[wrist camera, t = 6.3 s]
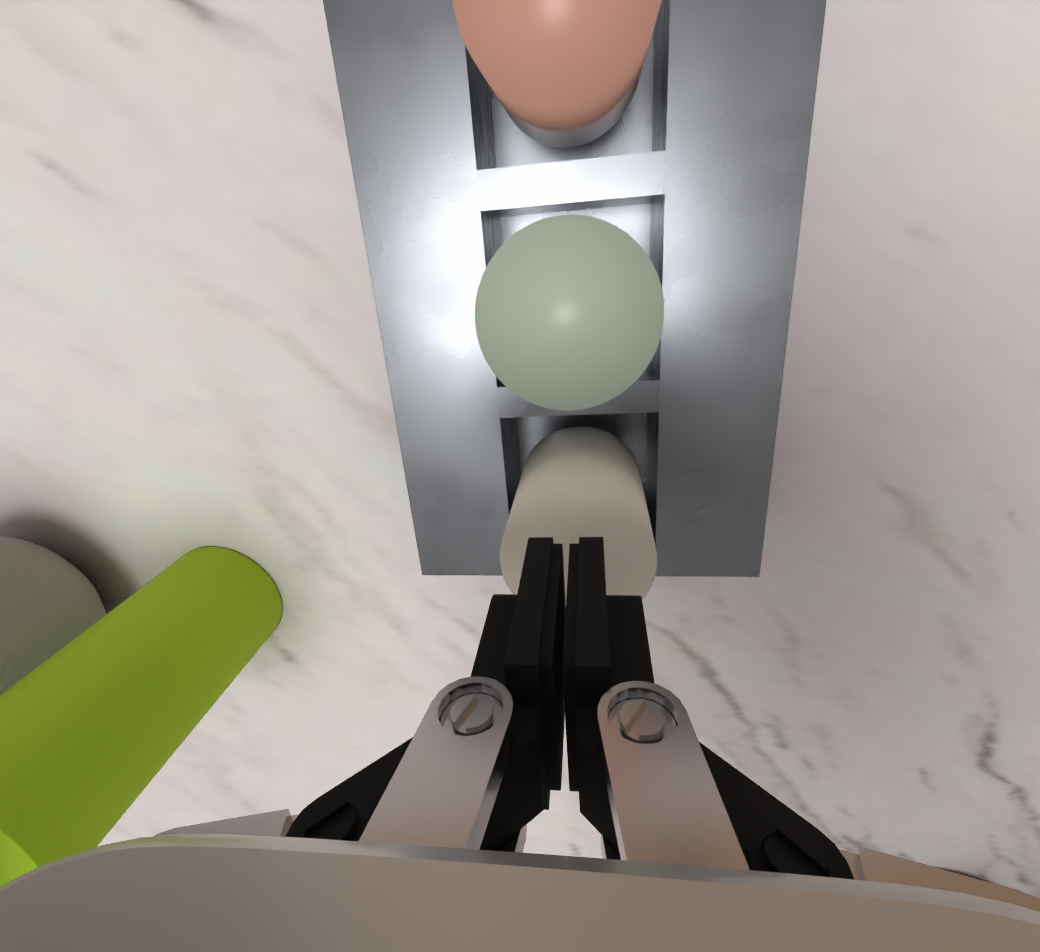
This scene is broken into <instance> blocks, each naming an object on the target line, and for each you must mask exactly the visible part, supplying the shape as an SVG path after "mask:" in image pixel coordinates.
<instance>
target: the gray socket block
mask: <svg viewBox="0 0 1040 952" xmlns="http://www.w3.org/2000/svg"><path fill="white" fill-rule="evenodd" d="M323 3H324V9H325V15H326V20H327V26H328V32H329V38H330V44H331V49H332V55H333V61H334V67H335V72H336V78H337V84H338V90H339V96H340V101H341V107H342V113H343V119H344V124H345V130H346V136H347V142H348V148H349V153H350V159H351V165H352V171H353V177H354V182H355V188H356V194H357V200H358V205H359V211H360V217H361V223H362V229H363V234H364V240H365V246H366V252H367V257H368V263H369V269H370V275H371V281H372V286H373V292H374V298H375V304H376V310H377V315H378V321H379V327H380V333H381V338H382V344H383V350H384V356H385V362H386V367H387V373H388V379H389V385H390V391H391V396H392V402H393V408H394V414H395V419H396V425H397V431H398V437H399V443H400V448H401V454H402V460H403V466H404V471H405V477H406V483H407V489H408V495H409V500H410V506H411V512H412V518H413V524H414V529H415V535H416V541H417V547H418V552H419V558H420V564H421V570H422V575H503V573H502V570H501V565H500V546H501V542H502V538H503V535H504V531H505V528H506V525H507V521H508V518H509V515H510V511H511V508H512V505H513V501H514V498H515V495H516V491H517V488H518V485H519V481H520V478H521V475H522V472H523V468H524V465H525V462H526V460H527V457H528V456H529V454H530V452H531V451H532V449H533V448H534V447H535V446H536V445H537V444H538V443H539V442H540V441H541V440H542V439H543V438H545V437H546V436H548V435H549V434H551V433H553V432H555V431H558V430H561V429H564V428H568V427H576V426H587V427H594V428H598V429H601V430H604V431H606V432H609V433H611V434H612V435H614V436H616V437H617V438H618V439H620V440H621V441H622V442H623V443H624V444H625V445H626V446H627V447H628V448H629V449H630V451H631V452H632V453H633V455H634V457H635V459H636V461H637V464H638V467H639V471H640V476H641V481H642V485H643V490H644V495H645V499H646V504H647V509H648V513H649V518H650V523H651V528H652V532H653V537H654V542H655V546H656V551H657V569H656V574H655V576H735V577H759V574H760V565H761V557H762V548H763V539H764V531H765V522H766V514H767V505H768V497H769V488H770V479H771V471H772V462H773V454H774V445H775V437H776V428H777V419H778V411H779V402H780V394H781V385H782V377H783V368H784V359H785V351H786V342H787V334H788V325H789V317H790V308H791V299H792V291H793V282H794V274H795V265H796V257H797V248H798V239H799V231H800V222H801V214H802V205H803V196H804V188H805V179H806V171H807V162H808V154H809V145H810V136H811V128H812V119H813V111H814V102H815V94H816V85H817V76H818V68H819V59H820V51H821V42H822V34H823V25H824V16H825V8H826V0H662V2H661V5H660V9H659V12H658V16H657V19H656V23H655V26H654V30H653V33H652V37H651V40H650V43H649V47H648V50H647V54H646V57H645V61H644V64H643V67H642V71H641V74H640V78H639V81H638V85H637V88H636V90H635V93H634V95H633V98H632V100H631V102H630V104H629V105H628V107H627V109H626V110H625V112H624V113H623V115H622V116H621V118H620V119H619V120H618V121H617V122H616V123H615V124H614V126H613V127H611V128H610V129H609V130H608V131H607V132H606V133H604V134H603V135H601V136H600V137H599V138H597V139H595V140H593V141H591V142H589V143H586V144H584V145H581V146H576V147H571V148H558V147H551V146H547V145H544V144H541V143H539V142H537V141H535V140H533V139H532V138H530V137H528V136H527V135H526V134H525V133H523V132H522V131H521V130H520V129H519V128H518V127H517V126H516V125H515V123H514V122H513V121H512V119H511V118H510V116H509V115H508V113H507V112H506V110H505V109H504V107H503V106H502V104H501V103H500V101H499V99H498V98H497V96H496V95H495V93H494V92H493V90H492V89H491V87H490V85H489V84H488V82H487V81H486V79H485V78H484V76H483V74H482V73H481V71H480V70H479V68H478V67H477V65H476V64H475V62H474V60H473V59H472V57H471V55H470V53H469V51H468V50H467V48H466V46H465V44H464V41H463V39H462V36H461V33H460V31H459V28H458V24H457V20H456V16H455V12H454V6H453V0H323ZM572 214H577V215H585V216H591V217H595V218H598V219H602V220H604V221H607V222H609V223H611V224H613V225H615V226H617V227H618V228H620V229H622V230H623V231H625V232H626V233H627V234H629V235H630V236H631V237H632V238H633V239H634V240H636V241H637V243H638V244H639V245H640V246H641V247H642V248H643V250H644V251H645V252H646V254H647V255H648V257H649V258H650V260H651V261H652V263H653V265H654V267H655V269H656V272H657V274H658V277H659V280H660V283H661V286H662V292H663V298H664V323H663V329H662V334H661V338H660V341H659V344H658V347H657V349H656V352H655V354H654V356H653V358H652V360H651V362H650V363H649V365H648V366H647V368H646V369H645V371H644V372H643V373H642V375H641V376H640V377H639V378H638V379H637V380H636V381H635V382H634V383H633V384H632V385H631V386H630V387H629V388H628V389H627V390H625V391H624V392H622V393H621V394H619V395H618V396H617V397H615V398H613V399H611V400H609V401H607V402H605V403H603V404H600V405H597V406H594V407H590V408H586V409H580V410H555V409H548V408H545V407H541V406H538V405H535V404H533V403H530V402H528V401H526V400H524V399H522V398H521V397H519V396H517V395H516V394H515V393H513V392H512V391H511V390H509V389H508V388H507V387H506V386H505V385H504V384H503V383H502V382H501V381H500V380H499V379H498V378H497V377H496V375H495V374H494V373H493V371H492V370H491V368H490V367H489V365H488V363H487V362H486V360H485V358H484V356H483V353H482V351H481V349H480V345H479V342H478V339H477V334H476V328H475V301H476V295H477V291H478V286H479V284H480V281H481V278H482V275H483V273H484V271H485V269H486V267H487V265H488V263H489V262H490V260H491V259H492V257H493V256H494V254H495V253H496V251H497V250H498V249H499V248H500V247H501V246H502V245H503V243H504V242H505V241H507V240H508V239H509V238H510V237H511V236H512V235H513V234H515V233H516V232H518V231H519V230H521V229H522V228H524V227H525V226H527V225H530V224H532V223H534V222H536V221H538V220H541V219H545V218H548V217H552V216H558V215H572Z"/></svg>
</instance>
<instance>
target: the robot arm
mask: <svg viewBox="0 0 1040 952" xmlns="http://www.w3.org/2000/svg"><path fill="white" fill-rule="evenodd" d="M564 717H565V720H566V737H567V755H568V772H569V788H570V791H578V792H579V800H580V812H581V813H582V814H583V815H584V817H585V818H586V819H587V820H588V821H589V822H590V823H591V824H592V825H593V826H594V827H595V828H596V829H597V830H598V831H599V832H600V833H601V849H602V855H603V859H599V858H586V857H572V856H559V855H545V854H532V853H523V849H524V845H525V841H526V832H527V825H526V824H527V823H529V822H530V821H531V820H532V819H533V818H534V817H536V816H537V815H538V814H539V813H540V812H541V811H543V810H544V809H545V810H549V800H550V790H561V778H562V758H563V737H564ZM0 952H1040V899H1038V898H1035V897H1033V896H1030V895H1028V894H1025V893H1023V892H1021V891H1018V890H1016V889H1012V888H1008V887H1005V886H1001V885H997V884H994V883H990V882H987V881H983V880H979V879H976V878H972V877H968V876H965V875H961V874H957V873H954V872H950V871H947V870H943V869H939V868H936V867H932V866H928V865H925V864H921V863H917V862H914V861H910V860H906V859H903V858H899V857H896V856H892V855H888V854H885V853H881V852H877V851H874V850H870V849H866V848H863V847H859V846H858V849H857V853H856V854H855V853H851V852H848V851H844V850H840V849H838V848H837V847H836V845H835V844H834V843H833V842H832V841H831V840H830V839H828V838H827V837H826V836H825V835H824V834H823V833H822V832H821V831H820V830H818V829H817V828H816V827H814V826H813V825H812V824H810V823H809V822H807V821H806V820H805V819H803V818H802V817H801V816H799V815H798V814H797V813H795V812H794V811H793V810H791V809H790V808H788V807H787V806H786V805H784V804H783V803H782V802H780V801H779V800H778V799H776V798H775V797H773V796H772V795H771V794H769V793H768V792H767V791H765V790H764V789H763V788H761V787H760V786H758V785H757V784H756V783H754V782H753V781H752V780H750V779H749V778H748V777H746V776H745V775H743V774H742V773H741V772H739V771H738V770H737V769H735V768H734V767H733V766H731V765H730V764H728V763H727V762H726V761H724V760H723V759H722V758H720V757H719V756H718V755H716V754H715V753H714V752H712V751H711V750H709V749H708V748H707V747H705V746H704V745H703V744H701V743H700V742H699V741H698V739H697V736H696V734H695V731H694V729H693V726H692V724H691V721H690V719H689V716H688V714H687V711H686V709H685V708H684V706H683V704H682V703H681V701H680V700H679V699H678V698H677V697H676V696H675V695H674V694H673V693H672V692H671V691H669V690H667V689H665V688H663V687H661V686H660V685H657V684H654V678H653V671H652V664H651V658H650V651H649V644H648V638H647V631H646V624H645V617H644V611H643V604H642V598H641V596H640V595H606V579H605V560H604V541H603V537H579V543H570V546H569V563H568V579H567V596H566V601H565V582H564V562H563V546H562V544H554V542H553V537H529V538H528V542H527V547H526V553H525V558H524V563H523V568H522V573H521V578H520V583H519V588H518V593H517V595H503V594H494V595H493V597H492V599H491V603H490V606H489V610H488V614H487V618H486V621H485V625H484V629H483V633H482V636H481V640H480V644H479V647H478V651H477V655H476V659H475V662H474V666H473V670H472V674H471V677H467V678H463V679H459V680H457V681H455V682H453V683H450V684H448V685H447V686H446V687H445V688H443V689H442V690H441V691H440V692H439V693H438V694H437V695H436V697H435V698H434V699H433V701H432V702H431V704H430V706H429V708H428V710H427V712H426V714H425V716H424V718H423V719H422V721H421V723H420V725H419V727H418V729H417V731H416V733H415V735H414V737H413V738H411V739H409V740H408V741H406V742H405V743H403V744H402V745H400V746H398V747H397V748H395V749H394V750H392V751H391V752H389V753H388V754H386V755H384V756H383V757H381V758H380V759H378V760H377V761H375V762H373V763H372V764H370V765H369V766H367V767H366V768H364V769H362V770H361V771H359V772H358V773H356V774H355V775H353V776H352V777H350V778H348V779H347V780H345V781H344V782H342V783H341V784H339V785H337V786H336V787H334V788H333V789H331V790H330V791H328V792H326V793H325V794H323V795H322V796H320V797H319V798H317V799H316V800H315V801H313V802H312V803H311V804H309V805H308V806H307V807H306V808H304V809H303V810H302V812H301V813H300V814H298V815H292V816H291V815H290V812H289V809H284V810H278V811H273V812H267V813H261V814H255V815H249V816H243V817H237V818H231V819H225V820H220V821H214V822H208V823H202V824H196V825H190V826H184V827H178V828H174V829H171V830H168V831H165V832H162V833H159V834H157V835H155V836H154V837H145V838H138V839H132V840H127V841H122V842H117V843H111V844H106V845H102V846H99V847H96V848H92V849H89V850H86V851H83V852H79V853H76V854H73V855H70V856H66V857H63V858H60V859H57V860H55V861H52V862H50V863H47V864H45V865H43V866H40V867H38V868H36V869H34V870H31V871H29V872H27V873H25V874H23V875H21V876H19V877H17V878H15V879H13V880H12V881H10V882H9V883H7V884H5V885H4V886H2V887H0Z"/></svg>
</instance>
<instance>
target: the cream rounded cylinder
mask: <svg viewBox="0 0 1040 952" xmlns="http://www.w3.org/2000/svg"><path fill="white" fill-rule="evenodd" d="M529 537H553V542H554V544H562V546H563V562H564V582H565V601H566V596H567V579H568V563H569V546H570V543H579V537H603V541H604V560H605V579H606V595H640V596H641V598H642V599H643V597H644V596H645V595H646V594H647V592H648V590H649V589H650V587H651V585H652V583H653V580H654V577H655V574H656V569H657V551H656V546H655V542H654V537H653V532H652V528H651V523H650V518H649V513H648V509H647V504H646V499H645V495H644V490H643V485H642V481H641V476H640V471H639V467H638V464H637V461H636V459H635V457H634V455H633V453H632V452H631V451H630V449H629V448H628V447H627V446H626V445H625V444H624V443H623V442H622V441H621V440H620V439H618V438H617V437H616V436H614V435H612V434H611V433H609V432H606V431H604V430H601V429H598V428H594V427H587V426H576V427H568V428H564V429H561V430H558V431H555V432H553V433H551V434H549V435H548V436H546V437H545V438H543V439H542V440H541V441H540V442H539V443H538V444H537V445H536V446H535V447H534V448H533V449H532V451H531V452H530V454H529V456H528V457H527V460H526V462H525V465H524V468H523V472H522V475H521V478H520V481H519V485H518V488H517V491H516V495H515V498H514V501H513V505H512V508H511V511H510V515H509V518H508V521H507V525H506V528H505V531H504V535H503V538H502V542H501V546H500V565H501V570H502V573H503V576H504V579H505V581H506V583H507V585H508V587H509V588H510V590H511V591H512V593H513V594H514V595H517V593H518V588H519V583H520V578H521V573H522V568H523V563H524V558H525V553H526V547H527V542H528V538H529Z"/></svg>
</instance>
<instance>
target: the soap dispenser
mask: <svg viewBox="0 0 1040 952" xmlns="http://www.w3.org/2000/svg"><path fill="white" fill-rule="evenodd" d="M281 615H282V601H281V597H280V594H279V591H278V589H277V587H276V585H275V584H274V582H273V580H272V579H271V578H270V576H269V575H268V574H267V573H266V572H265V571H264V570H263V569H262V568H261V567H260V566H259V565H258V564H256V563H255V562H254V561H252V560H251V559H249V558H248V557H246V556H244V555H242V554H240V553H238V552H235V551H233V550H229V549H226V548H221V547H202V548H198V549H194V550H192V551H190V552H188V553H186V554H185V555H184V556H182V557H181V558H180V559H178V560H177V561H176V562H174V563H173V564H172V565H171V566H169V567H168V568H167V569H165V570H164V571H163V572H161V573H160V574H159V575H157V576H156V577H155V578H154V579H152V580H151V581H150V582H148V583H147V584H146V585H144V586H143V587H142V588H140V589H139V590H138V591H136V592H135V593H134V594H133V595H131V596H130V597H129V598H127V599H126V600H125V601H123V602H122V603H121V604H119V605H118V606H117V607H116V608H114V609H113V610H112V611H110V612H109V613H108V614H106V615H105V616H104V617H102V618H101V619H100V620H99V621H97V622H96V623H95V624H93V625H92V626H91V627H89V628H88V629H87V630H85V631H84V632H83V633H82V634H80V635H79V636H78V637H76V638H75V639H74V640H72V641H71V642H70V643H68V644H67V645H66V646H65V647H63V648H62V649H61V650H59V651H58V652H57V653H55V654H54V655H53V656H51V657H50V658H49V659H47V660H46V661H45V662H44V663H42V664H41V665H40V666H38V667H37V668H36V669H34V670H33V671H32V672H30V673H29V674H28V675H27V676H25V677H24V678H23V679H21V680H20V681H19V682H17V683H16V684H15V685H13V686H12V687H11V688H10V689H8V690H7V691H6V692H4V693H3V694H2V695H0V887H2V886H4V885H5V884H7V883H9V882H10V881H12V880H13V879H15V878H17V877H19V876H21V875H23V874H25V873H27V872H29V871H31V870H34V869H36V868H38V867H40V866H43V865H45V864H47V863H50V862H52V861H55V860H57V859H60V858H63V857H66V856H70V855H73V854H76V853H79V852H83V851H86V850H89V849H92V848H96V847H97V846H98V844H99V843H100V842H101V841H102V840H103V838H104V837H105V836H106V835H107V833H108V832H109V831H110V830H111V829H112V827H113V826H114V825H115V824H116V822H117V821H118V820H119V819H120V818H121V816H122V815H123V814H124V813H125V812H126V810H127V809H128V808H129V807H130V805H131V804H132V803H133V802H134V801H135V799H136V798H137V797H138V796H139V794H140V793H141V792H142V791H143V790H144V788H145V787H146V786H147V785H148V783H149V782H150V781H151V780H152V779H153V777H154V776H155V775H156V774H157V773H158V771H159V770H160V769H161V768H162V766H163V765H164V764H165V763H166V762H167V760H168V759H169V758H170V757H171V755H172V754H173V753H174V752H175V751H176V749H177V748H178V747H179V746H180V745H181V743H182V742H183V741H184V740H185V738H186V737H187V736H188V735H189V734H190V732H191V731H192V730H193V729H194V727H195V726H196V725H197V724H198V723H199V721H200V720H201V719H202V718H203V716H204V715H205V714H206V713H207V712H208V710H209V709H210V708H211V707H212V706H213V704H214V703H215V702H216V701H217V699H218V698H219V697H220V696H221V695H222V693H223V692H224V691H225V690H226V688H227V687H228V686H229V685H230V684H231V682H232V681H233V680H234V679H235V677H236V676H237V675H238V674H239V673H240V671H241V670H242V669H243V668H244V667H245V665H246V664H247V663H248V662H249V660H250V659H251V658H252V657H253V656H254V654H255V653H256V652H257V651H258V649H259V648H260V647H261V646H262V645H263V643H264V642H265V641H266V640H267V639H268V637H269V636H270V635H271V634H272V632H273V631H274V630H275V629H276V627H277V626H278V624H279V622H280V619H281Z"/></svg>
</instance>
